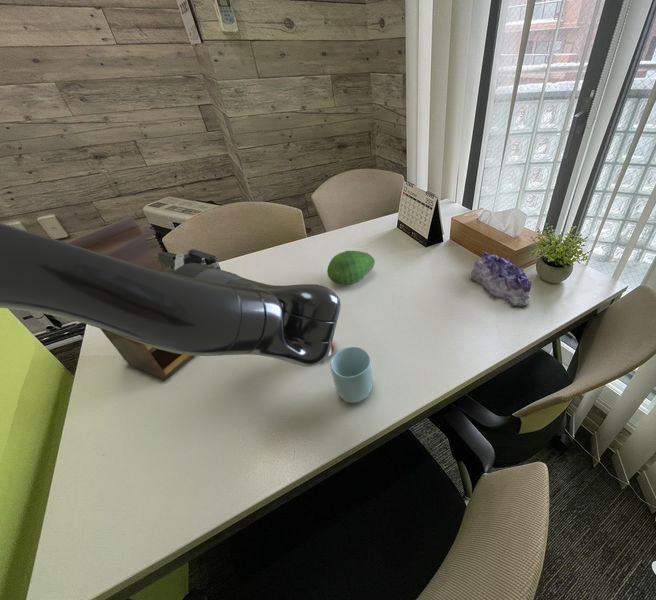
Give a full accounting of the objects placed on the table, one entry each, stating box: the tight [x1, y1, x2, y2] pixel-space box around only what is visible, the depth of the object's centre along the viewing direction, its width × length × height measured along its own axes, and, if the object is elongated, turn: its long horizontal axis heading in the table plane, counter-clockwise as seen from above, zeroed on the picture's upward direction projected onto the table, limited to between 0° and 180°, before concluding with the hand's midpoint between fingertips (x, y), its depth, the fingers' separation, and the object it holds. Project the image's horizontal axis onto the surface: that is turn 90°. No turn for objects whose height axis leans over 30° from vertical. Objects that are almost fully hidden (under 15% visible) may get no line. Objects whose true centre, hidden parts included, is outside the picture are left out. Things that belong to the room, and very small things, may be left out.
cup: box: [329, 346, 373, 404], centre depth 66 cm, size 8×8×10 cm
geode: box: [469, 251, 533, 308], centre depth 94 cm, size 20×12×10 cm, turn 34°
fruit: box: [326, 250, 376, 287], centre depth 98 cm, size 15×10×10 cm, turn 124°
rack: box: [64, 216, 195, 382], centre depth 69 cm, size 12×16×30 cm
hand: (137, 270), depth 52 cm, fingers open, 8 cm apart
